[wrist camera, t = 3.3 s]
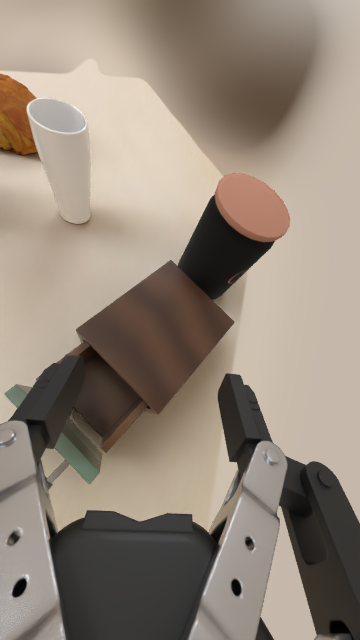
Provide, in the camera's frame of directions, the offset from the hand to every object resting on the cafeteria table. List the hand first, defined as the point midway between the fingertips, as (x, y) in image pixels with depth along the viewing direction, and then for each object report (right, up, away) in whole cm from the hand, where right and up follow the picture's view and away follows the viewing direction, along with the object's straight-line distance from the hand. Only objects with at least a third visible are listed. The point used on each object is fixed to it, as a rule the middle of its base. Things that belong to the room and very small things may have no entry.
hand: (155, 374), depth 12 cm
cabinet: (-3, -1, +22) cm, 23 cm away
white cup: (-18, +23, +27) cm, 40 cm away
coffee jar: (+5, +11, +30) cm, 33 cm away
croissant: (-31, +40, +30) cm, 59 cm away
